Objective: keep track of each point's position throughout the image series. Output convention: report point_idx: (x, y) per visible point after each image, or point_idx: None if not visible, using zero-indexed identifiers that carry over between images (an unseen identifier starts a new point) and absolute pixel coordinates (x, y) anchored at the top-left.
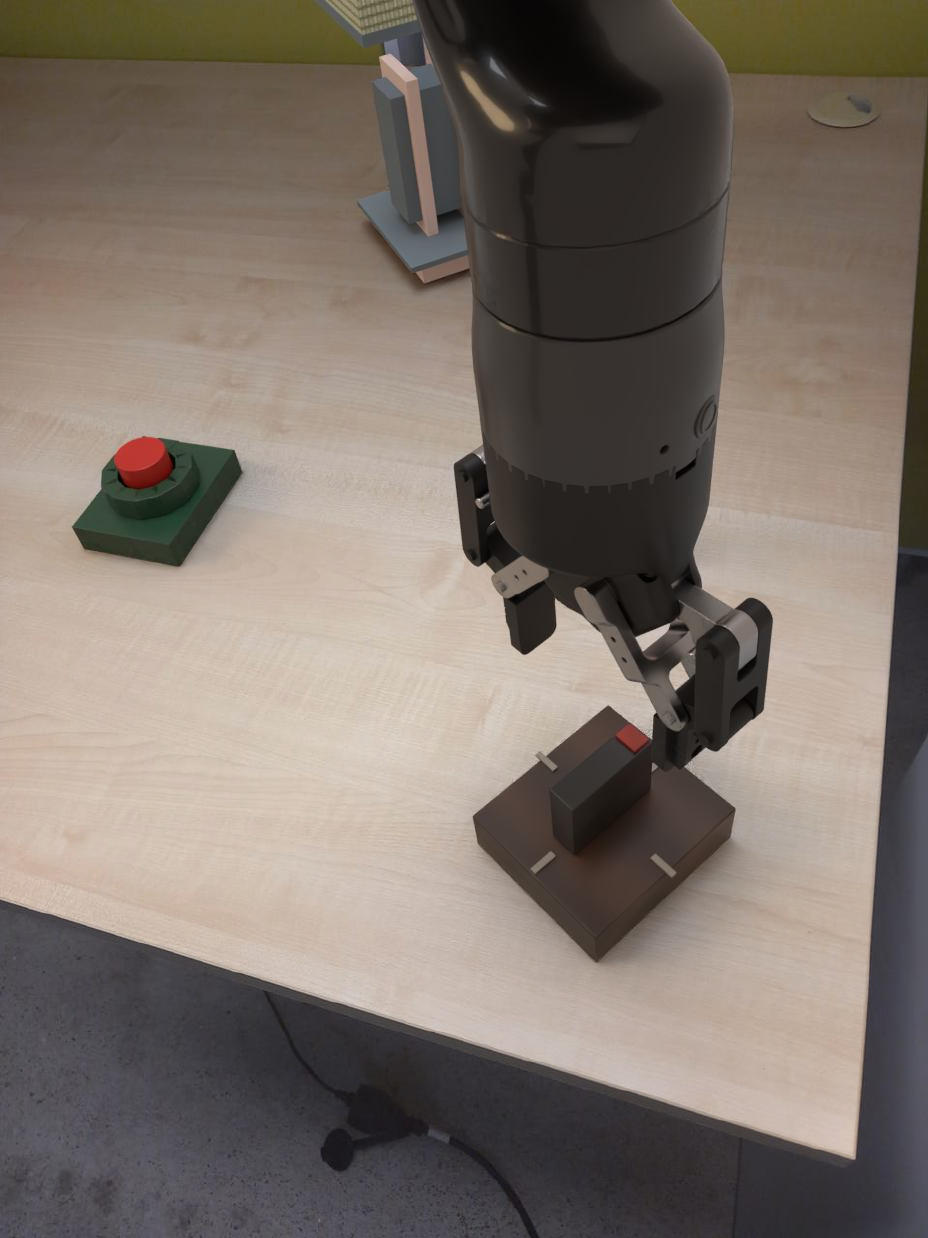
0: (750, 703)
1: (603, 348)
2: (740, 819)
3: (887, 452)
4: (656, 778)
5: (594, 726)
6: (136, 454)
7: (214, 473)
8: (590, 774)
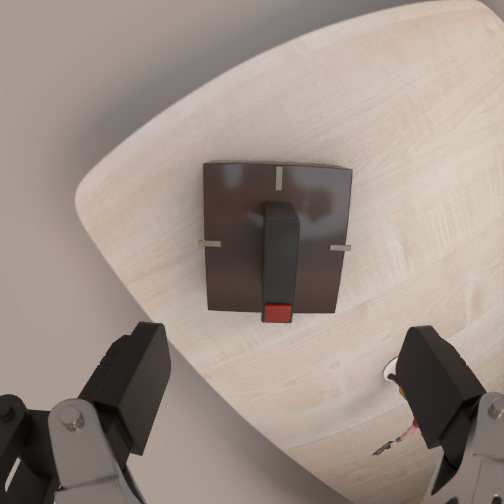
0: (25, 466)
1: None
2: None
3: (307, 468)
4: None
5: (331, 294)
6: None
7: None
8: (281, 261)
